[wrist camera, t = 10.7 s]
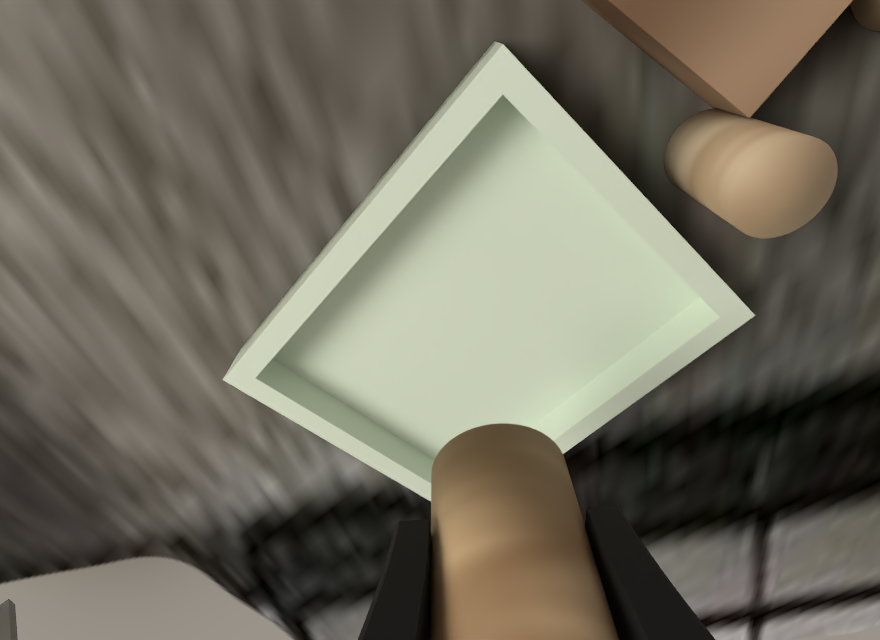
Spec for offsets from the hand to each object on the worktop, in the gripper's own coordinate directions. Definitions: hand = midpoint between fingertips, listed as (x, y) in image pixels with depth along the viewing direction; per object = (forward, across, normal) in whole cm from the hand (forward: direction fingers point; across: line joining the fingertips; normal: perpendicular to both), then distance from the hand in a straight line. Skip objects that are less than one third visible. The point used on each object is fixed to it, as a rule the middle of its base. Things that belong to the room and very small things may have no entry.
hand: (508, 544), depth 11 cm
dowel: (+2, 0, 0) cm, 2 cm away
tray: (+9, 0, 0) cm, 9 cm away
